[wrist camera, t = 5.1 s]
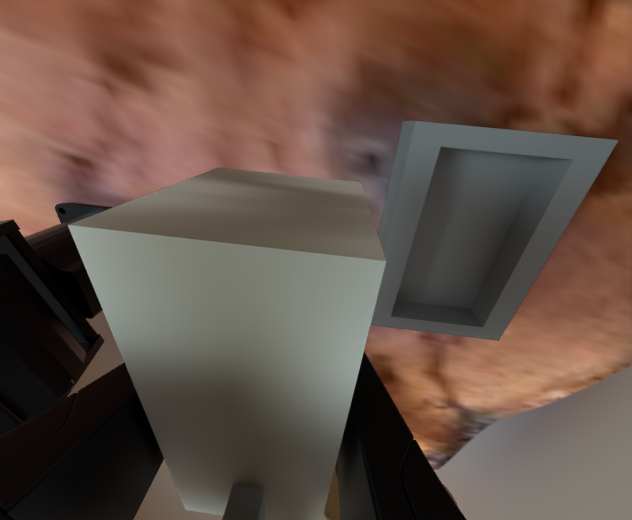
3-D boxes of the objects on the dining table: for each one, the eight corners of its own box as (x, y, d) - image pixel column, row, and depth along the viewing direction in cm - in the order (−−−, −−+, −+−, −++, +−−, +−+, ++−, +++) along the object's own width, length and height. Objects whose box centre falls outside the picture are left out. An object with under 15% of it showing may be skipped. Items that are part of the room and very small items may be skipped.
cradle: (363, 300, 21) (366, 324, 18) (403, 120, 15) (415, 120, 12) (479, 314, 21) (498, 340, 18) (571, 136, 14) (618, 140, 12)
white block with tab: (238, 376, 11) (155, 584, 6) (218, 167, 7) (-103, 289, 2) (326, 388, 11) (315, 610, 6) (360, 182, 7) (416, 353, 2)
